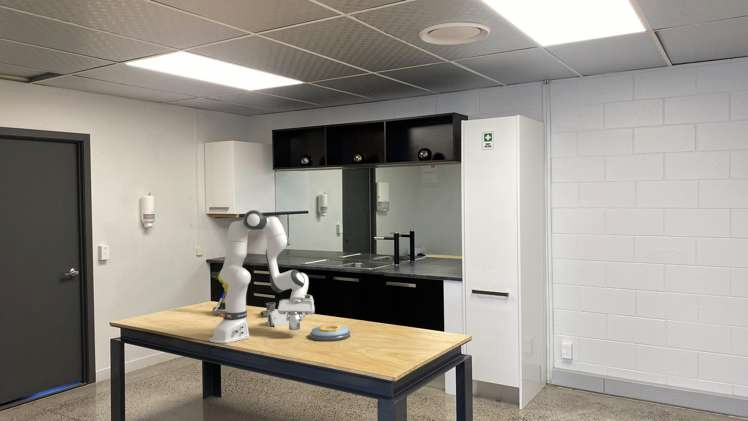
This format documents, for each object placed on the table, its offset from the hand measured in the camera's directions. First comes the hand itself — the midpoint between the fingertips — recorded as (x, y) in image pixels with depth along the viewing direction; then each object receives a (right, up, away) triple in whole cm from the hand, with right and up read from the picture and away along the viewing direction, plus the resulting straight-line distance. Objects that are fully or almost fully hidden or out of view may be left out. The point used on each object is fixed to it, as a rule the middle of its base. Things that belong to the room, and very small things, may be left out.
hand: (294, 320), depth 299 cm
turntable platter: (+19, -7, +1) cm, 21 cm away
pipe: (-25, -9, +57) cm, 63 cm away
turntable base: (+19, -9, +1) cm, 21 cm away
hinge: (-14, -9, +34) cm, 38 cm away
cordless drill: (-56, -9, +70) cm, 90 cm away
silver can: (0, -5, +1) cm, 5 cm away
